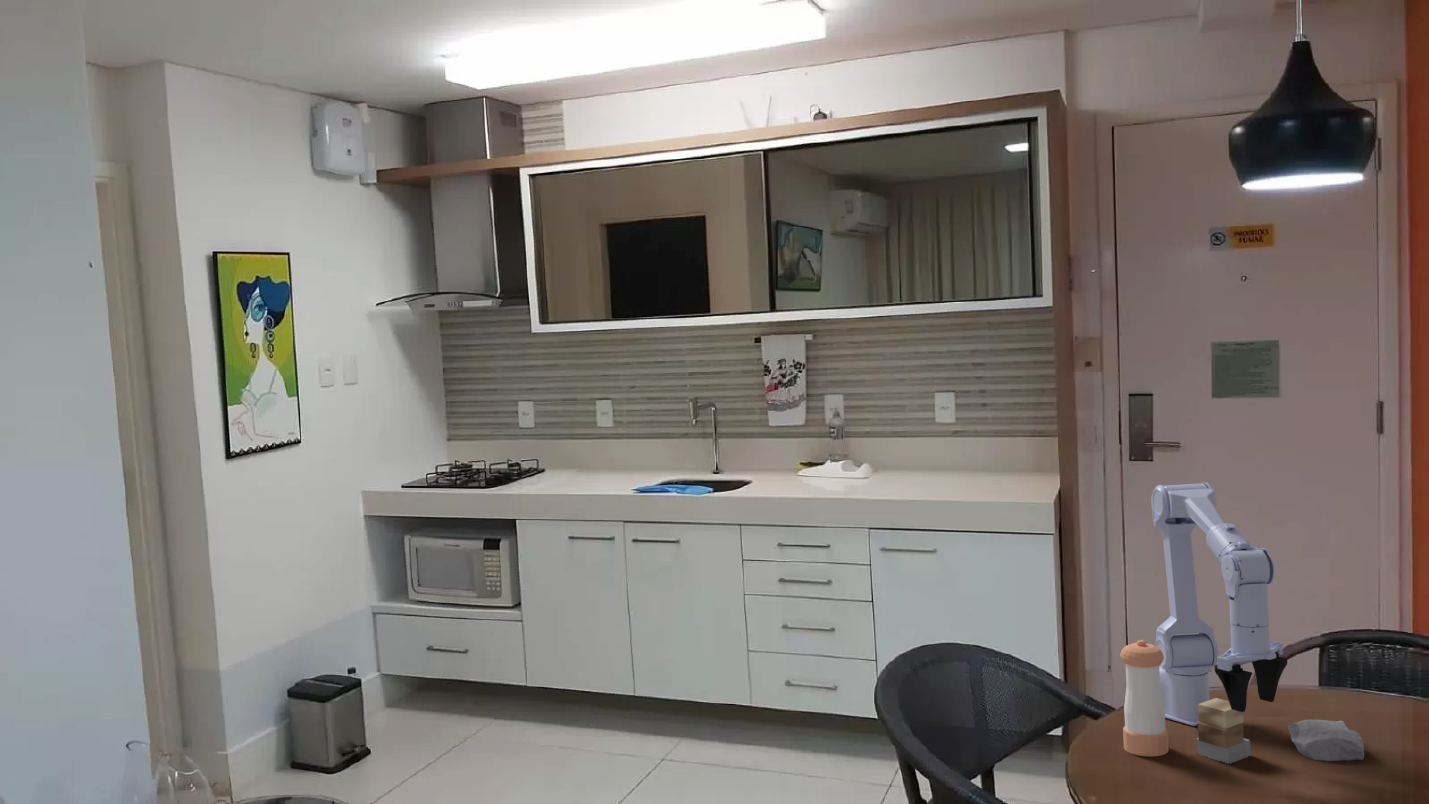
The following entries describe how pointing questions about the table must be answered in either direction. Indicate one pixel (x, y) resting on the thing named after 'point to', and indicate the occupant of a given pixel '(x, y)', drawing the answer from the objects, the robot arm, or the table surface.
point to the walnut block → (1220, 735)
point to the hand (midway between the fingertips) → (1252, 705)
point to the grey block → (1224, 751)
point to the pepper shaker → (1144, 701)
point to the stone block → (1326, 740)
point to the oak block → (1219, 714)
